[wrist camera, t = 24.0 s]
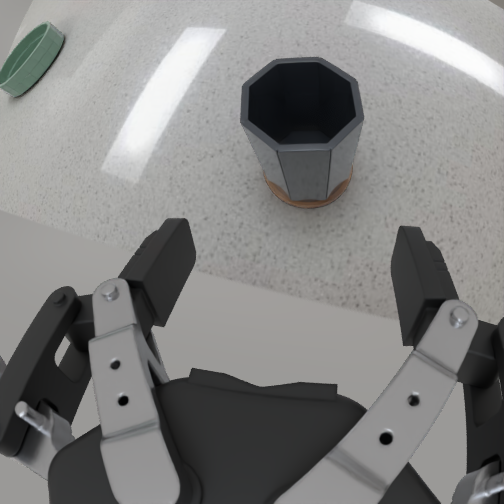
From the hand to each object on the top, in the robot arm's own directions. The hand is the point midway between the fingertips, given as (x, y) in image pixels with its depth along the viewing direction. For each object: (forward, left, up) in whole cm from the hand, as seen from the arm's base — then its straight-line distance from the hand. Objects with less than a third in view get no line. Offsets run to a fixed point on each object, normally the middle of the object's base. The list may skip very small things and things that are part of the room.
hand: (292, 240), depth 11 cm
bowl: (-6, +55, -10) cm, 57 cm away
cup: (+5, +5, -10) cm, 12 cm away
